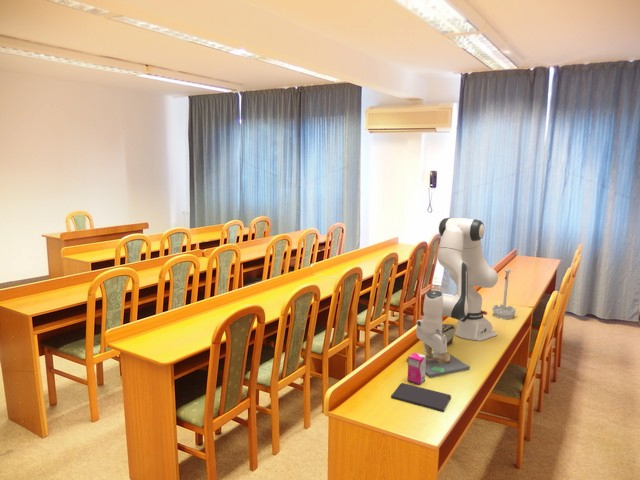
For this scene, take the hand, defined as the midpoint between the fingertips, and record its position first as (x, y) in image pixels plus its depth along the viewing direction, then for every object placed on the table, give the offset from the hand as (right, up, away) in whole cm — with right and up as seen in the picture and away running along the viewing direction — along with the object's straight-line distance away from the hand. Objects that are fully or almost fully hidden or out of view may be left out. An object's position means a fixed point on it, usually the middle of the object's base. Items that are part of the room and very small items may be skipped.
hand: (430, 354), depth 221 cm
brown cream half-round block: (+12, -1, +25) cm, 28 cm away
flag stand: (+60, +6, +70) cm, 92 cm away
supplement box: (-9, -8, -13) cm, 18 cm away
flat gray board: (+4, -5, +2) cm, 7 cm away
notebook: (-10, -12, -28) cm, 32 cm away
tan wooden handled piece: (+2, -4, +2) cm, 5 cm away
